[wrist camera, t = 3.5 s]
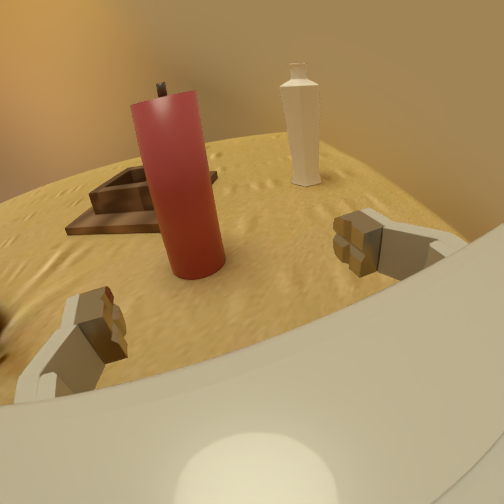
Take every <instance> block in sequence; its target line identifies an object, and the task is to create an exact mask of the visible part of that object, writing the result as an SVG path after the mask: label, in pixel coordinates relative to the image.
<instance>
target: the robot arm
mask: <svg viewBox="0 0 504 504" xmlns="http://www.w3.org/2000/svg"><path fill="white" fill-rule="evenodd" d="M333 229H334V230H335V232H336V235H335V237H334V239H333V248H334V252H335V254H336V256H337V258H338V259H339V260H340V261H341V262H343V263H347V264H349V269H350V270H351V271H353V272H354V273H355V274H356V275H357V276H358V277H359V278H361V277H363V276H366V275H368V274H371V273H374V272H376V271H378V272H379V273H382V274H384V275H387V276H389V277H392V278H395V279H397V280H400V282H398V283H396V284H394V285H392V286H390V287H388V288H386V289H384V290H381V291H379V292H377V293H375V294H373V295H371V296H369V297H367V298H364V299H362V300H360V301H358V302H356V303H353V304H351V305H349V306H347V307H344V308H342V309H340V310H338V311H335V312H333V313H331V314H328V315H326V316H324V317H321V318H319V319H317V320H314V321H312V322H309V323H307V324H304V325H302V326H300V327H297V328H295V329H292V330H289V331H287V332H284V333H282V334H279V335H276V336H274V337H271V338H268V339H266V340H263V341H260V342H258V343H255V344H252V345H249V346H246V347H244V348H241V349H238V350H235V351H232V352H229V353H226V354H223V355H220V356H217V357H214V358H211V359H208V360H205V361H201V362H198V363H195V364H192V365H188V366H185V367H182V368H178V369H175V370H171V371H168V372H164V373H161V374H157V375H154V376H150V377H146V378H142V379H138V380H135V381H131V382H127V383H123V384H118V385H114V386H110V387H105V388H101V389H96V390H94V388H95V386H96V384H97V382H98V380H99V378H100V376H101V374H102V372H103V370H104V368H105V364H108V363H111V362H115V361H118V360H122V359H125V358H128V354H127V342H126V340H125V339H124V336H125V335H126V324H125V320H124V317H123V314H122V312H121V310H120V308H119V306H117V305H115V304H113V301H114V296H113V294H112V292H111V290H110V288H108V287H107V286H106V287H102V288H99V289H95V290H92V291H88V292H85V293H82V294H78V295H75V296H72V297H69V298H68V299H67V300H66V305H65V309H64V313H63V317H62V322H61V326H60V329H59V330H56V331H55V332H54V334H53V335H52V336H51V337H50V338H49V340H48V341H47V342H46V343H45V345H44V346H43V347H42V348H41V350H40V351H39V352H38V353H37V355H36V356H35V357H34V358H33V360H32V361H31V362H30V363H29V365H28V366H27V367H26V369H25V370H24V371H23V373H22V374H21V375H20V377H19V378H18V382H17V387H16V393H15V398H14V404H8V405H0V504H504V223H502V224H501V225H499V226H498V227H496V228H494V229H493V230H491V231H490V232H488V233H486V234H485V235H483V236H482V237H480V238H478V239H477V240H475V241H473V242H471V243H470V244H468V243H467V242H465V241H463V240H462V239H460V238H459V237H457V236H456V235H454V234H452V233H450V232H445V231H440V230H436V229H431V228H426V227H421V226H416V225H411V224H406V223H400V222H397V223H395V222H393V221H392V220H390V219H388V218H386V217H385V216H383V215H381V214H380V213H378V212H376V211H375V210H373V209H371V208H364V209H361V210H358V211H355V212H352V213H349V214H346V215H343V216H340V217H337V218H335V219H334V222H333Z"/></svg>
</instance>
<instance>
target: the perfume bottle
mask: <svg viewBox="0 0 504 504" xmlns="http://www.w3.org/2000/svg"><path fill="white" fill-rule="evenodd" d="M306 64H307V63H293V64H288V65H289V67H290V76H291V80H289V81H288V82H286V83H284V84H283V85H281V86H280V92H281V98H282V103H283V108H284V115H285V120H286V126H287V132H288V139H289V145H290V151H291V158H292V164H293V176H292V181H291V183H293V184H297V185H301V186H305V187H307V186H311V185H315V184H319V183H322V181H321V177H320V174H319V128H320V126H319V125H320V106H319V105H320V97H319V96H320V94H319V85H318V84H316V83H315V82H312V81H311V80H309V79H307V73H306Z"/></svg>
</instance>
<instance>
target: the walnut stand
mask: <svg viewBox="0 0 504 504" xmlns="http://www.w3.org/2000/svg"><path fill="white" fill-rule="evenodd" d="M209 173H210V178H211V184H212V183H213V182H214V181H215V180H216V179H217V178H218V176H217V171H211V172H209ZM89 197H90V200H91V203H92V207H91V208H89V209H88V210H87V211H86V212H84V213H83V214H82V215H80V216H79V217H78V218H77V219H75V220H74V221H73V222H72V223H70V224H69V225H68V226H67V227H66V228H65V230H66V233H67V235H81V234H112V233H152V232H161V231H160V228H159V224H158V221H157V217H156V214H155V210H154V206H153V203H152V199H151V195H150V191H149V187H148V183H147V179H146V175H145V171H144V167H143V166H137V167H131V168H127V169H125V170H124V171H122V172H120V173H119V174H117V175H116V176H114V177H113V178H111V179H110V180H108V181H106V182H105V183H103V184H102V185H100V186H99V187H97V188H96V189H95V190H93V191H92V192H90V193H89Z"/></svg>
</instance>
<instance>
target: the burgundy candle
mask: <svg viewBox="0 0 504 504" xmlns="http://www.w3.org/2000/svg"><path fill="white" fill-rule="evenodd" d="M156 87H157V93H158V98H156V99H152V100H148V101H144V102H140V103H137V104H133V105H131V111H132V117H133V122H134V127H135V131H136V136H137V141H138V145H139V150H140V154H141V159H142V163H143V167H144V171H145V175H146V179H147V183H148V187H149V191H150V195H151V199H152V203H153V206H154V210H155V214H156V217H157V221H158V224H159V228H160V231H161V235H162V238H163V242H164V245H165V248H166V251H167V255H168V258H169V261H170V264H171V268H172V271H173V273H174V274H175V275H176V276H178V277H179V278H183V279H200V278H204V277H207V276H209V275H212V274H213V273H215V272H217V271H218V270H219V269H220V268H221V267H222V266H223V265H224V263H225V254H224V248H223V243H222V238H221V233H220V228H219V222H218V217H217V212H216V206H215V201H214V195H213V190H212V184H211V178H210V173H209V167H208V161H207V155H206V150H205V144H204V138H203V132H202V126H201V119H200V114H199V107H198V100H197V94H196V90H195V91H189V92H183V93H178V94H174V95H169V96H167V91H166V85H165V82H163V83H159V84H156Z"/></svg>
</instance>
